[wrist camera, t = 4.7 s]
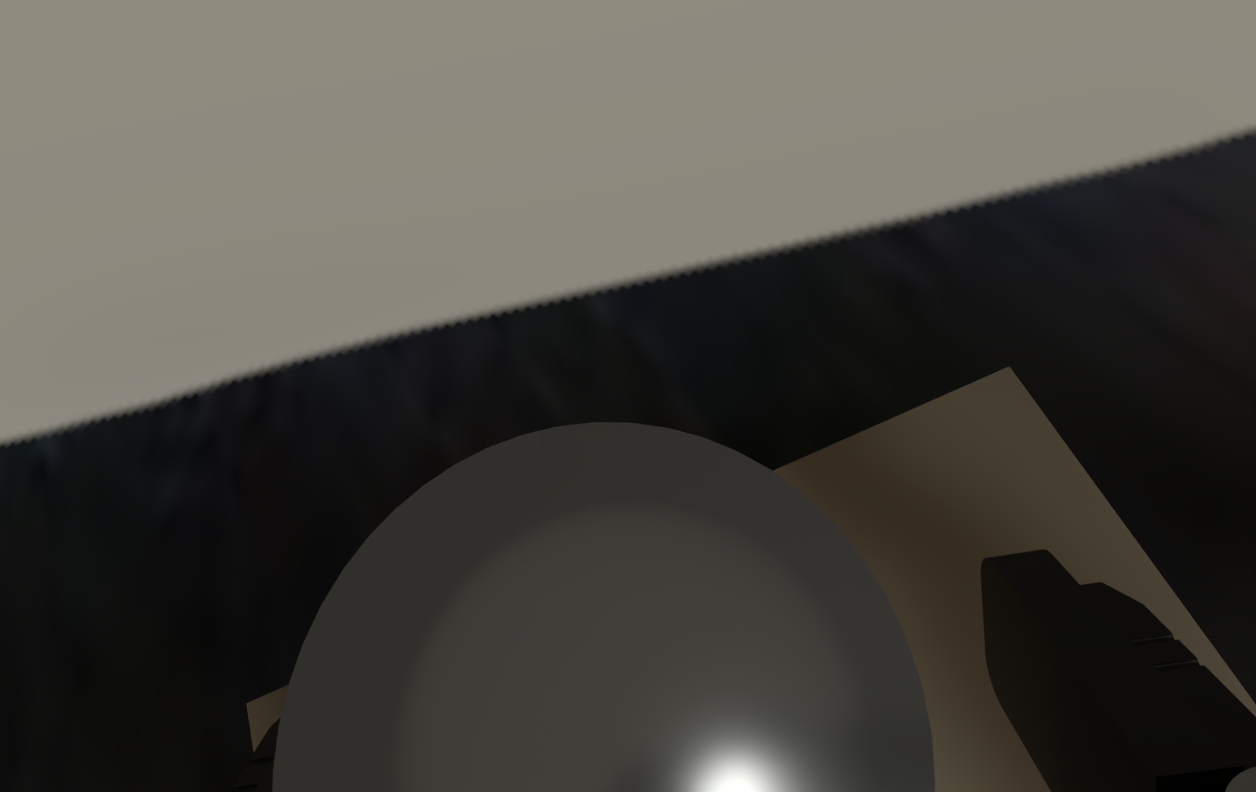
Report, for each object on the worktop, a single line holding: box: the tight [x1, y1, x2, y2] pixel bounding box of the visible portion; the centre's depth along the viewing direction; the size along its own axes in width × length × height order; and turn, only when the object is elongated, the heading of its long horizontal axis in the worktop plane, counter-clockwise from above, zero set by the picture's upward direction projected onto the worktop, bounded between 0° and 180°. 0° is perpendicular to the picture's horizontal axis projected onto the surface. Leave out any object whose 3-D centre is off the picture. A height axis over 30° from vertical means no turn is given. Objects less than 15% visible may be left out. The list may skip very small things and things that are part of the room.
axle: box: [272, 422, 935, 792], centre depth 10 cm, size 3×3×15 cm
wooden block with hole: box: [246, 367, 1256, 792], centre depth 15 cm, size 16×8×4 cm, turn 112°
